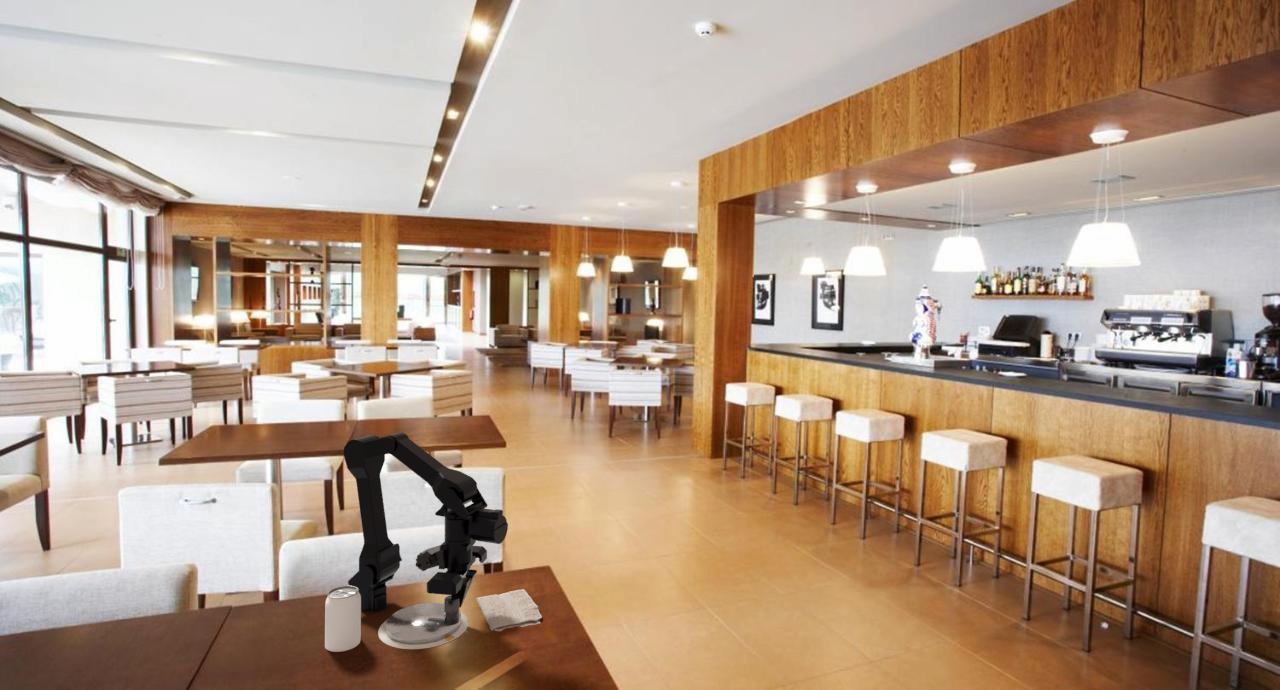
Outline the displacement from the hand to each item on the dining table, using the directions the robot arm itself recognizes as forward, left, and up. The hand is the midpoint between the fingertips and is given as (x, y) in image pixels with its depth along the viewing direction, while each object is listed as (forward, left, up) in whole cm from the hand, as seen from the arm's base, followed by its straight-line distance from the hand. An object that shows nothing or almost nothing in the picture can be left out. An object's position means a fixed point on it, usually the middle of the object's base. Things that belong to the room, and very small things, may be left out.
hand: (458, 607), depth 140 cm
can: (-11, -20, -5) cm, 23 cm away
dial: (-4, -6, -3) cm, 8 cm away
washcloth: (+5, +11, -5) cm, 13 cm away
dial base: (-4, -6, -5) cm, 8 cm away
